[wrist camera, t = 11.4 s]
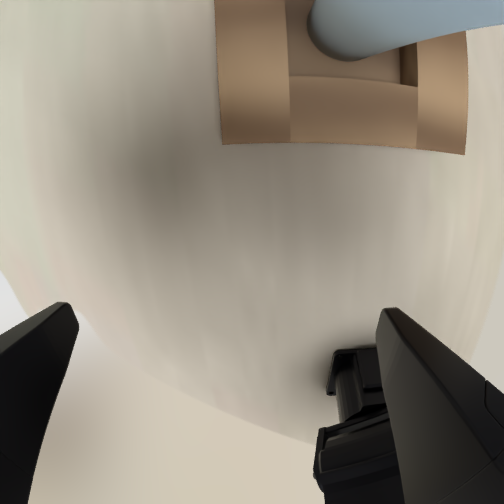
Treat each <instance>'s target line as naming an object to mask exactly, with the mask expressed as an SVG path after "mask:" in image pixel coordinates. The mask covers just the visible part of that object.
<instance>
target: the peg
mask: <svg viewBox="0 0 504 504" xmlns="http://www.w3.org/2000/svg"><path fill="white" fill-rule="evenodd" d="M502 24H504V0H315V1H314V3H313V5H312V8H311V10H310V12H309V14H308V17H307V31H308V35H309V37H310V39H311V41H312V42H313V44H314V45H315V46H316V47H317V48H318V49H319V50H320V51H321V52H322V53H324V54H325V55H327V56H329V57H331V58H333V59H336V60H339V61H345V62H352V61H358V60H361V59H364V58H367V57H370V56H373V55H376V54H379V53H382V52H385V51H388V50H392V49H395V48H398V47H401V46H405V45H408V44H412V43H415V42H419V41H423V40H427V39H431V38H435V37H439V36H443V35H447V34H452V33H456V32H461V31H466V30H471V29H477V28H483V27H489V26H495V25H502Z"/></svg>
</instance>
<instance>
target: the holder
mask: <svg viewBox="0 0 504 504" xmlns="http://www.w3.org/2000/svg"><path fill="white" fill-rule="evenodd" d="M314 1H315V0H214V4H215V27H216V47H217V66H218V83H219V100H220V115H221V130H222V145H225V144H245V143H343V144H363V145H378V146H391V147H402V148H413V149H422V150H430V151H438V152H446V153H453V154H460V155H465V145H466V133H467V117H468V58H467V42H466V31H461V32H456V33H452V34H447V35H443V36H439V37H435V38H431V39H427V40H423V41H419V42H415V43H412V44H408V45H405V46H401V47H398V48H395V49H392V50H388V51H385V52H382V53H379V54H376V55H373V56H370V57H367V58H364V59H361V60H358V61H352V62H345V61H339V60H336V59H333V58H331V57H329V56H327V55H325V54H324V53H322V52H321V51H320V50H319V49H318V48H317V47H316V46H315V45H314V44H313V42H312V41H311V39H310V37H309V35H308V31H307V17H308V14H309V12H310V10H311V8H312V5H313V3H314Z"/></svg>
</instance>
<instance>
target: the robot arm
mask: <svg viewBox="0 0 504 504" xmlns="http://www.w3.org/2000/svg"><path fill="white" fill-rule="evenodd" d="M78 331H79V323H78V321H77V318H76V316H75V314H74V311H73V309H72V307H71V305H70V304H69V303H67V302H57V303H55V304H53V305H51V306H49V307H48V308H46V309H44V310H42V311H41V312H39V313H37V314H35V315H34V316H32V317H30V318H28V319H27V320H25V321H23V322H22V323H20V324H18V325H16V326H15V327H13V328H11V329H10V330H8V331H6V332H5V333H3V334H1V335H0V504H28V500H29V495H30V490H31V485H32V481H33V475H34V472H35V468H36V464H37V460H38V456H39V453H40V449H41V445H42V442H43V439H44V435H45V432H46V428H47V425H48V422H49V419H50V416H51V413H52V410H53V407H54V404H55V401H56V398H57V396H58V393H59V390H60V387H61V384H62V382H63V379H64V377H65V374H66V371H67V368H68V364H69V361H70V357H71V354H72V351H73V347H74V344H75V341H76V338H77V335H78ZM376 345H377V348H371V349H357V350H340V351H336V352H335V353H334V354H333V360H332V365H331V370H330V374H329V379H328V384H327V389H326V393H327V395H329V396H333V395H336V397H337V405H338V412H339V420H340V423H339V424H336V425H333V426H329V427H323V428H319V432H318V437H317V444H316V452H315V460H314V466H313V471H314V473H313V477H314V479H316V480H317V483H318V486H319V488H320V489H321V491H322V492H323V493H324V499H325V504H504V394H503V393H502V392H501V391H500V390H498V389H497V388H496V387H495V386H494V385H492V384H491V383H490V382H489V381H488V380H486V381H485V378H484V377H483V376H482V375H480V374H479V373H478V372H477V371H476V370H475V369H473V368H472V367H471V366H470V365H469V364H467V363H466V362H465V361H464V360H463V359H461V358H460V357H459V356H458V355H457V354H455V353H454V352H453V351H452V350H450V349H449V348H448V347H447V346H445V345H444V344H443V343H442V342H441V341H439V340H438V339H437V338H436V337H434V336H433V335H432V334H431V333H429V332H428V331H427V330H425V329H424V328H423V327H422V326H420V325H419V324H418V323H417V322H415V321H414V320H413V319H412V318H410V317H409V316H408V315H406V314H405V313H404V312H403V311H401V310H400V309H398V308H396V307H393V308H384V309H382V311H381V314H380V318H379V322H378V326H377V329H376Z"/></svg>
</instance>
